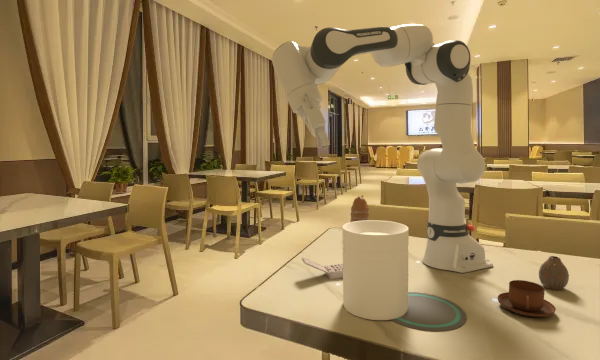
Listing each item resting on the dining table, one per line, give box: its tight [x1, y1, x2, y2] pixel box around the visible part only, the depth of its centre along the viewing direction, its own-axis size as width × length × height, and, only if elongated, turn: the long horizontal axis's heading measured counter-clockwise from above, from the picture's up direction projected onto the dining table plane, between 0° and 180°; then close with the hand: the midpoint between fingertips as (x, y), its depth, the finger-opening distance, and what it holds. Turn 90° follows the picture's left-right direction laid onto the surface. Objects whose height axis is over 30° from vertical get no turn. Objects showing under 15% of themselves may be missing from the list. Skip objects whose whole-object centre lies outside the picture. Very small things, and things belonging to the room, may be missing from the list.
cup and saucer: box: [497, 279, 556, 318], centre depth 87 cm, size 12×12×6 cm
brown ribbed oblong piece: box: [350, 194, 370, 222], centre depth 156 cm, size 9×8×18 cm
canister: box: [341, 219, 410, 321], centre depth 89 cm, size 16×16×20 cm
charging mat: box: [390, 291, 467, 332], centre depth 91 cm, size 20×28×2 cm
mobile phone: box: [301, 257, 343, 280], centre depth 111 cm, size 6×6×25 cm
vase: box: [538, 255, 570, 291], centre depth 100 cm, size 7×7×9 cm
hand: (326, 146), depth 97 cm, fingers open, 8 cm apart
